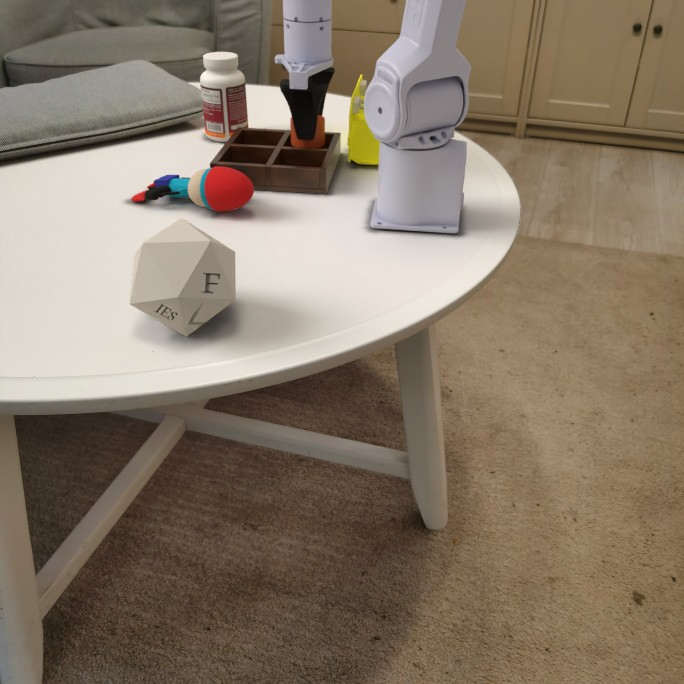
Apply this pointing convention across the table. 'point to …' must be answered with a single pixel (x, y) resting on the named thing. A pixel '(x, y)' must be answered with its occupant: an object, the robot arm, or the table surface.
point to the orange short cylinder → (318, 139)
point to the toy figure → (204, 188)
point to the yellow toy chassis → (361, 130)
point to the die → (183, 277)
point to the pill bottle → (223, 96)
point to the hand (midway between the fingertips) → (308, 132)
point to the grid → (280, 160)
